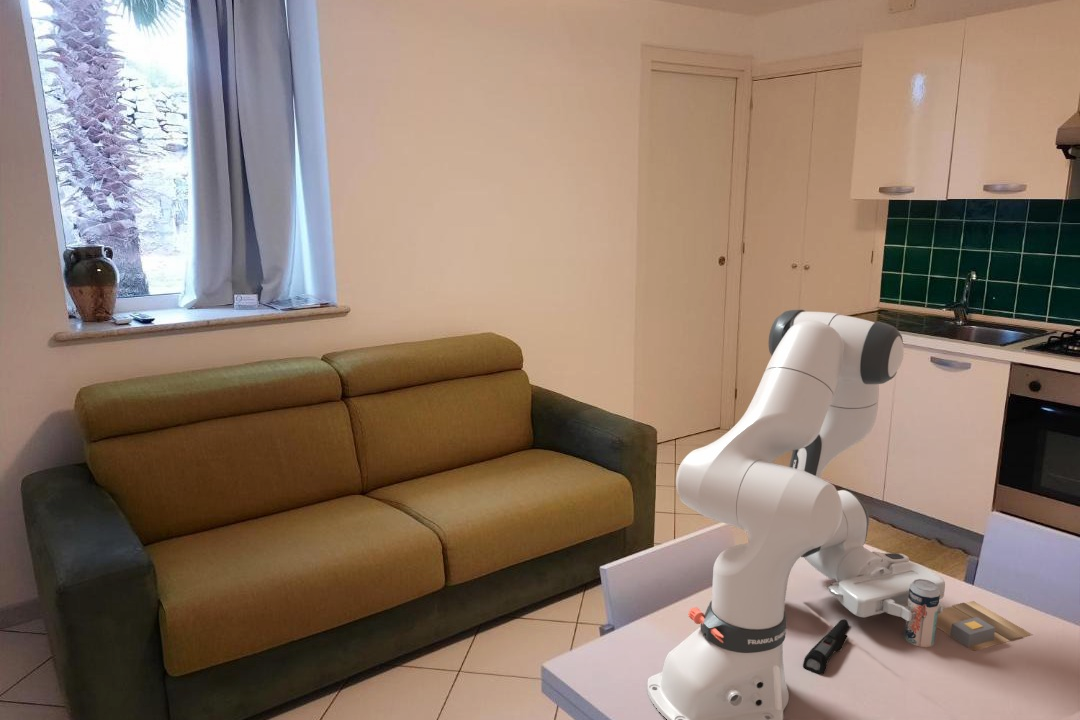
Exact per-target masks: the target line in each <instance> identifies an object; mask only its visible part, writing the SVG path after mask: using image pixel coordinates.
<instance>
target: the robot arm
mask: <svg viewBox="0 0 1080 720" xmlns="http://www.w3.org/2000/svg"><path fill="white" fill-rule="evenodd" d="M768 350H769V351H768V352H769V354H770V356H771V357H770V359H769V361H768V363H767V366H766V367H765V369H764V370H765V371H764V372H763V374H762V378H761V379H760V382H759V384H758V386H757V388H756V391H755V393H754V394H753V398H752V399H751V402H750V403H749V404H748V407H747V409H746V410H745V412H744V414H743V415H742V416H741V418H740V419H739V420H738V421H737V422H736V424H735V425H734V426H733V427H732V428H730V429H729V430H728V431H727V432H726V433H725V434H723V435H722V436H720V437H719V438H718V439H716V440H714V441H713V442H711V443H709V444H707V445H705V446H704V445H703V446H702V447H699V448H696V449H693V450H691V451H690V452H689V453H688V454H687V455H685V457H684V458H683V460H682V461H681V462H680V464H679V466H678V469H677V471H676V476H675V485H676V486H675V488H676V492H677V494H678V498H679V500H680V502H681V503H682V505H683V504H684V505H685V506H687V507H688V508H690V509H691V510H693V511H695V512H697V513H698V514H700V515H702V516H704V517H705V518H708V519H711V520H714V521H718V522H720V523H723V524H727V525H729V526H732V527H734V528H735V527H736V528H738V529H741V530H743V531H745V532H746V533H747V537H748V538H747V543H741V544H737V545H733V546H731V547H727V548H726V549H724V550H723V551H722V552H720V553H719V555H718V556H717V558H716V559H715V561H714V564H713V568H712V569H713V570H712V571H713V572H712V588H711V589H712V590H711V591H712V592H711V600H710V602H709V604H708V605H707V608H706V610H705V613H704V612H702V611H701V610H700V608H698V607H696V606H695V607H692V608H690V610H689V611H688V618H689V619H691V621H693V622H694V624H696V625H700V626H699V627H698V628H697V629H695V631H693V632H692V633H690V635H689V636H687V637H686V638H685V639H684V640H683V641H681V642H680V643H679V644H677V645H676V646H675V647H674V648H673V649H672V650H670V651H669V652H668V653H667V655H666V657H665V659H664V662H663V667H662V671H660V672H658V673H656V674H654V675H651V676H650V677H648V679H647V685H646V689H647V690H648V691H647V694H648V697H649V700H650V701H651V703H652V705H653V704H654V705H653V706H654V708H655V709H656V708H657V709H656V710H657V712H658V713H659V712H660V713H661V714H662V715H663V716H664V717H665V718H666V719H667V720H784V710H785V709H786V707H787V705H788V703H789V699H790V696H789V695H790V694H789V689H788V686H787V682H786V676H785V668H784V655H783V654H784V653H783V645H784V642H785V639H786V633H787V632H786V631H787V614H786V611H785V607H786V605H785V604H786V598H787V597H786V596H787V590H788V589H787V588H788V582H789V578H790V574H791V571H792V569H793V566H794V565H795V564H796V562H797V561H798V560H799V559H800V558H804V559H805V560H806V562H808V564H809V565H810V566H811V567H812V568H814V569H815V570H816V571H818V572H819V573H820V574H822V575H823V576H825V577H826V578H828V579H831V580H834V581H833V582H830V585H829V586H828V588H827V589H828V592H830V594H832V595H833V596H835V597H836V598H837V600H838V601H839V603H840V604H841V605H842V606H843V607H845V609H847V610H848V611H849V612H850V613H851V614H853V615H854V616H856V617H858V618H859V617H860V618H868V617H871V616H877V615H880V614H883V613H886V614H889V615H892V616H896V617H900V618H902V619H904V620H905V621H906V620H907V621H910V620H914V619H915V618H916V617H915V615H916V611H915V610H914V609H911V607H909V606H907V605H908V596H909V588H910V585H911V584H912V583H913V581H914V580H917V579H923V580H929V581H931V582H933V583H935V584H936V585H937V586H938V588H939V591H940V598H939V600H941V599H943V598H944V596H945V589H946V581H945V580H944V578H943V577H942V576H940V575H939V574H937V573H936V572H934V571H933V570H930V569H929V568H927V567H926V566H924V565H922V564H919V563H917V562H913V561H910V558H909V556H908V555H906V554H903V553H890V552H889V553H888V552H879V551H871V550H869V549H867V548H865V547H864V545H865V544H866V541H867V538H868V537H867V536H868V530H869V524H870V517H869V511H868V509H867V506H866V505H865V503H863V501H862V500H861V499H860V498H859V497H858V496H857V495H855V494H854V493H852V492H851V491H848V490H847V489H840V490H837V488H836V486H835V485H834V484H832V483H831V482H828V481H826V480H824V479H823V478H821V477H822V474H823V472H824V470H825V469H826V468H827V466H829V465H830V463H831V462H832V461H833V460H835V459H836V458H837V457H838V456H840V455H841V454H843V453H844V452H845V451H847V450H848V449H850V448H852V447H853V446H855V445H857V444H858V443H860V442H861V441H863V440H864V439H865V438H866V437H867V436H868V435H869V434H870V433H871V432H872V430H873V427H874V425H875V423H876V419H877V416H878V408H879V407H878V406H879V397H880V385H882V384H883V385H884V384H885V383H887V382H889V381H890V380H892V379H893V378H894V377H895V376H896V374H897V373H898V371H899V369H900V367H901V365H902V362H903V360H904V351H905V349H904V340H903V336H902V334H901V333H900V331H899V330H898V329H897V327H896V326H893V325H892V324H889V323H885V322H882V321H878V320H877V321H871V320H868V319H863V318H859V317H855V316H849V315H843V314H841V313H837V312H827V311H826V312H825V311H824V312H823V311H807V310H804V309H790V310H785V311H784V312H782V313H781V314H780V315H778V316H777V317H776V318H775V319H774V320H773V323H772V326H771V327H770V331H769V335H768ZM791 451H792V453H791V457H790V458H791V459H790V463H789V466H787V465H783V464H779V463H774V461H775V460H777V458H779V457H781V456H782V455H784V454H786V453H789V452H791ZM943 609H944V604H943V603H942V602H940V601H939V606H938V613H942V612H943ZM660 713H659V714H660ZM661 714H660V715H661ZM662 715H661V716H662ZM663 716H662V717H663ZM664 717H663V718H664ZM665 718H664V719H665ZM666 719H665V720H666Z"/></svg>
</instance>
